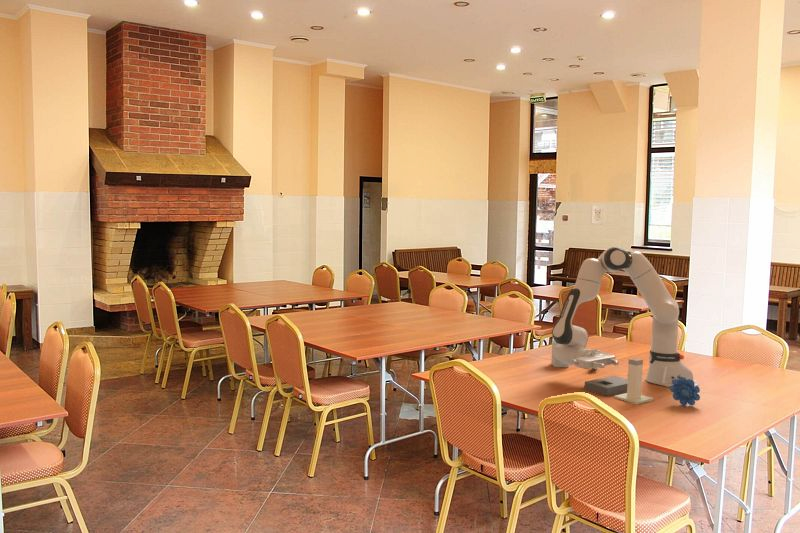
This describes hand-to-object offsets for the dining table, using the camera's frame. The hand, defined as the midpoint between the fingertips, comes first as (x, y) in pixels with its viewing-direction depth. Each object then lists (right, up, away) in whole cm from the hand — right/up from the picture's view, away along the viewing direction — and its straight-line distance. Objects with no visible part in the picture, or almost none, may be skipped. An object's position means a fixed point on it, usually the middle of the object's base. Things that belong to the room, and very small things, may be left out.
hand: (610, 364), depth 294 cm
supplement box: (-11, -8, +48) cm, 50 cm away
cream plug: (+7, -12, -9) cm, 17 cm away
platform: (+4, -9, +40) cm, 41 cm away
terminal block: (+2, -12, +5) cm, 13 cm away
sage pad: (+7, -13, -9) cm, 17 cm away
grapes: (+25, -14, -17) cm, 33 cm away
